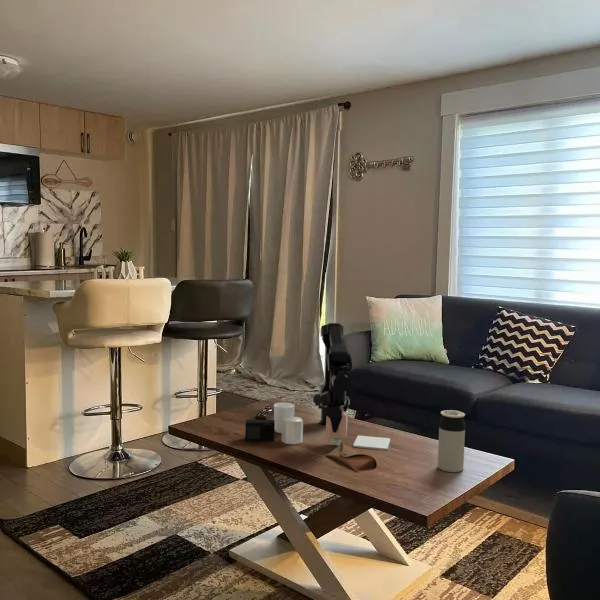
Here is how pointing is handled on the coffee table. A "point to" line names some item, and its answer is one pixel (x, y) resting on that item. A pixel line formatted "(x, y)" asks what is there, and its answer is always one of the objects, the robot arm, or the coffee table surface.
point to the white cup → (282, 414)
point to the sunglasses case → (352, 458)
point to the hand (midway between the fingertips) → (336, 429)
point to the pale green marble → (336, 441)
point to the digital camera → (259, 430)
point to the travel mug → (451, 441)
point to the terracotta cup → (341, 429)
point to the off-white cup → (292, 430)
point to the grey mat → (372, 442)
